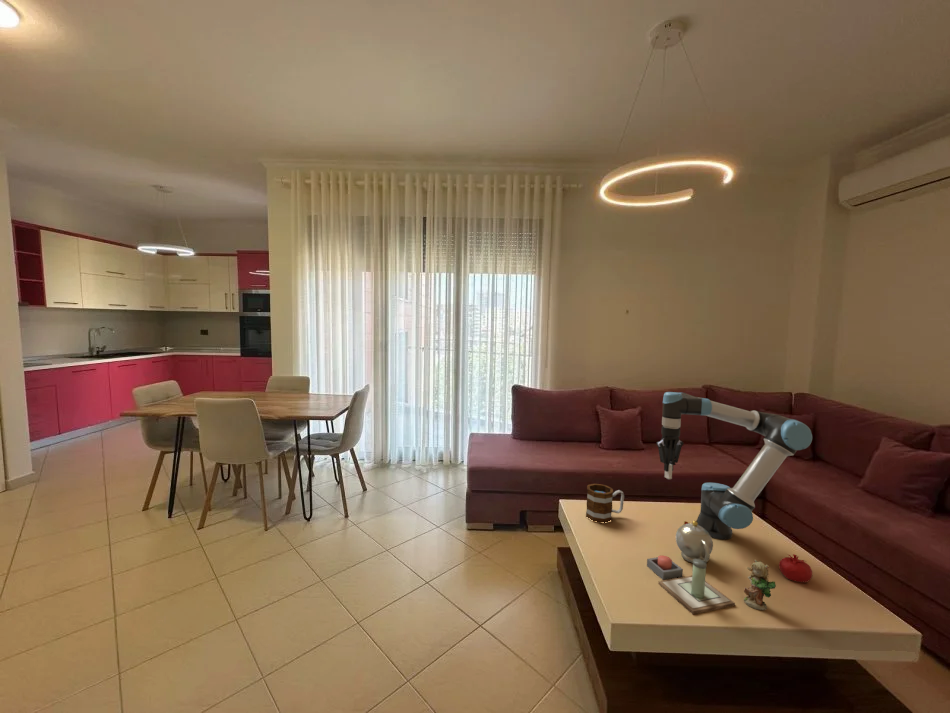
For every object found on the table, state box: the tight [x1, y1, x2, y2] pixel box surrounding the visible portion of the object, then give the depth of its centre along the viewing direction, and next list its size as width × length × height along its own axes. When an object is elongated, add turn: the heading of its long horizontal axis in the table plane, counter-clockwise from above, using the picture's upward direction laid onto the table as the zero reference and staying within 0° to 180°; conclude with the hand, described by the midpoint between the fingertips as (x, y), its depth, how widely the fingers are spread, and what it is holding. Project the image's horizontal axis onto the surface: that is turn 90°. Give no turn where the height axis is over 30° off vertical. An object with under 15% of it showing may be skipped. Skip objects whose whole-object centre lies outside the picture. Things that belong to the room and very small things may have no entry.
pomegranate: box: [778, 553, 813, 583], centre depth 149 cm, size 10×10×9 cm
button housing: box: [646, 556, 684, 581], centre depth 151 cm, size 9×9×3 cm
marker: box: [691, 559, 708, 599], centre depth 135 cm, size 4×4×12 cm
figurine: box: [743, 559, 776, 611], centre depth 132 cm, size 9×8×15 cm
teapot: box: [675, 520, 714, 564], centre depth 158 cm, size 18×14×16 cm
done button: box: [657, 555, 673, 570], centre depth 151 cm, size 5×5×4 cm
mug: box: [585, 483, 625, 524], centre depth 195 cm, size 20×14×15 cm
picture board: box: [657, 575, 736, 615], centre depth 138 cm, size 18×16×1 cm
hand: (668, 477), depth 172 cm, fingers closed
